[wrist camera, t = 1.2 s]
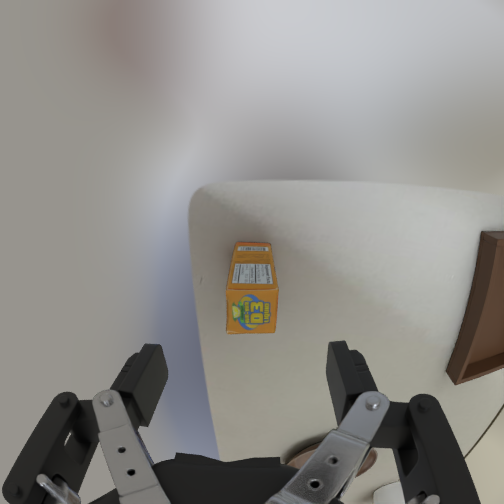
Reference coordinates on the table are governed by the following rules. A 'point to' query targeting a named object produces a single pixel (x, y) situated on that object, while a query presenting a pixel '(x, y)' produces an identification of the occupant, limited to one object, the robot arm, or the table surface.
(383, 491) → the cup
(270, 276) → the supplement box
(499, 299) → the tray
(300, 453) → the saucer
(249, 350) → the table surface
